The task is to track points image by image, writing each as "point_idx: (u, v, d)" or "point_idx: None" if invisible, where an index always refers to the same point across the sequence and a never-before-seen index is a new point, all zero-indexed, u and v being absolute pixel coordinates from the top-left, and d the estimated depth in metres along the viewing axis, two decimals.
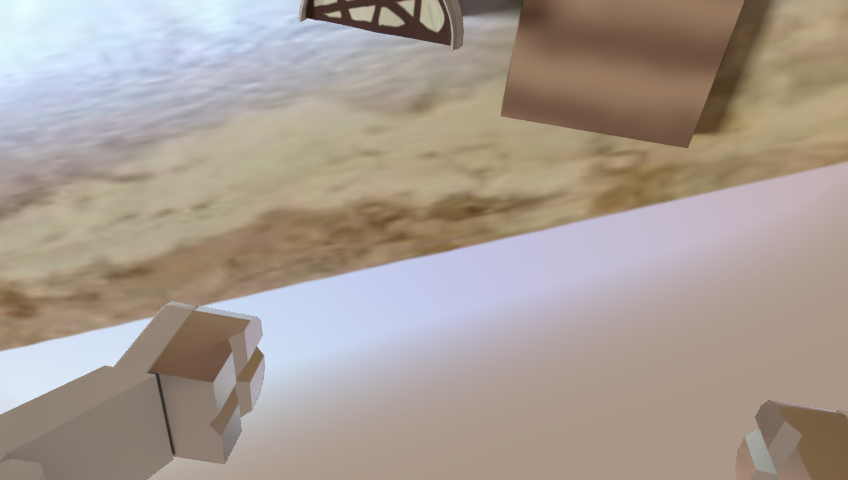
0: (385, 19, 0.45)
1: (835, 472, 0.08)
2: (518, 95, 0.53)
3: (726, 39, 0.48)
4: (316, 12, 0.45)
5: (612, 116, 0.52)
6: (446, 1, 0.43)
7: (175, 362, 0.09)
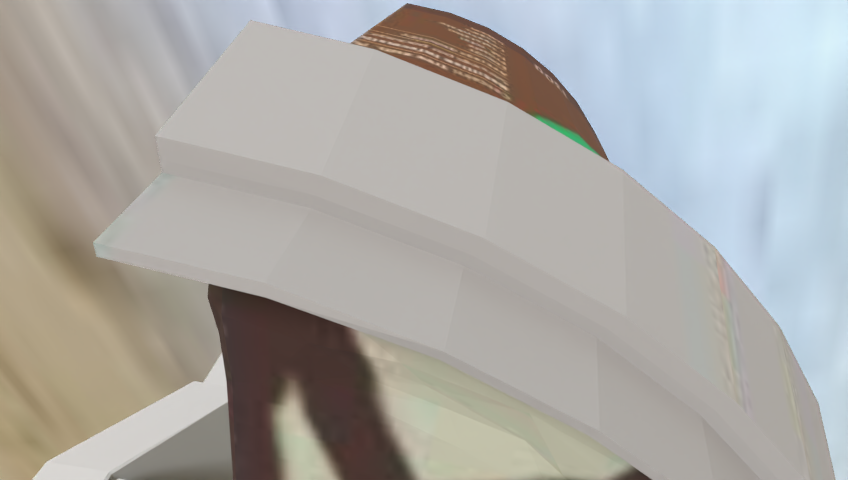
0: None
1: None
2: None
3: None
4: (290, 324, 0.04)
5: None
6: None
7: None
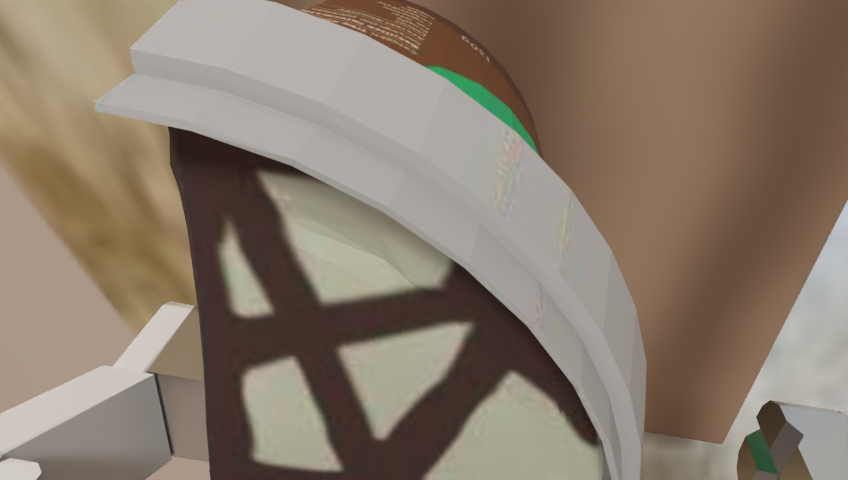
0: None
1: (837, 472, 0.08)
2: None
3: None
4: (222, 178, 0.06)
5: None
6: None
7: (173, 362, 0.09)
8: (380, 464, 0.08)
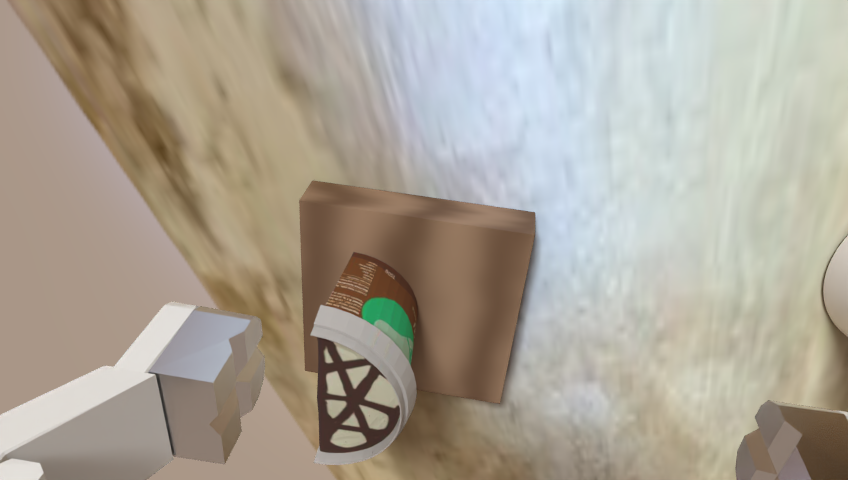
0: (333, 404, 0.39)
1: (835, 472, 0.08)
2: (328, 219, 0.43)
3: None
4: (326, 340, 0.36)
5: None
6: None
7: (175, 361, 0.09)
8: (355, 394, 0.38)
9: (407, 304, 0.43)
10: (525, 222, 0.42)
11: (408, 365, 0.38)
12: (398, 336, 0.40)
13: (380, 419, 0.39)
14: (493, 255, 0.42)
